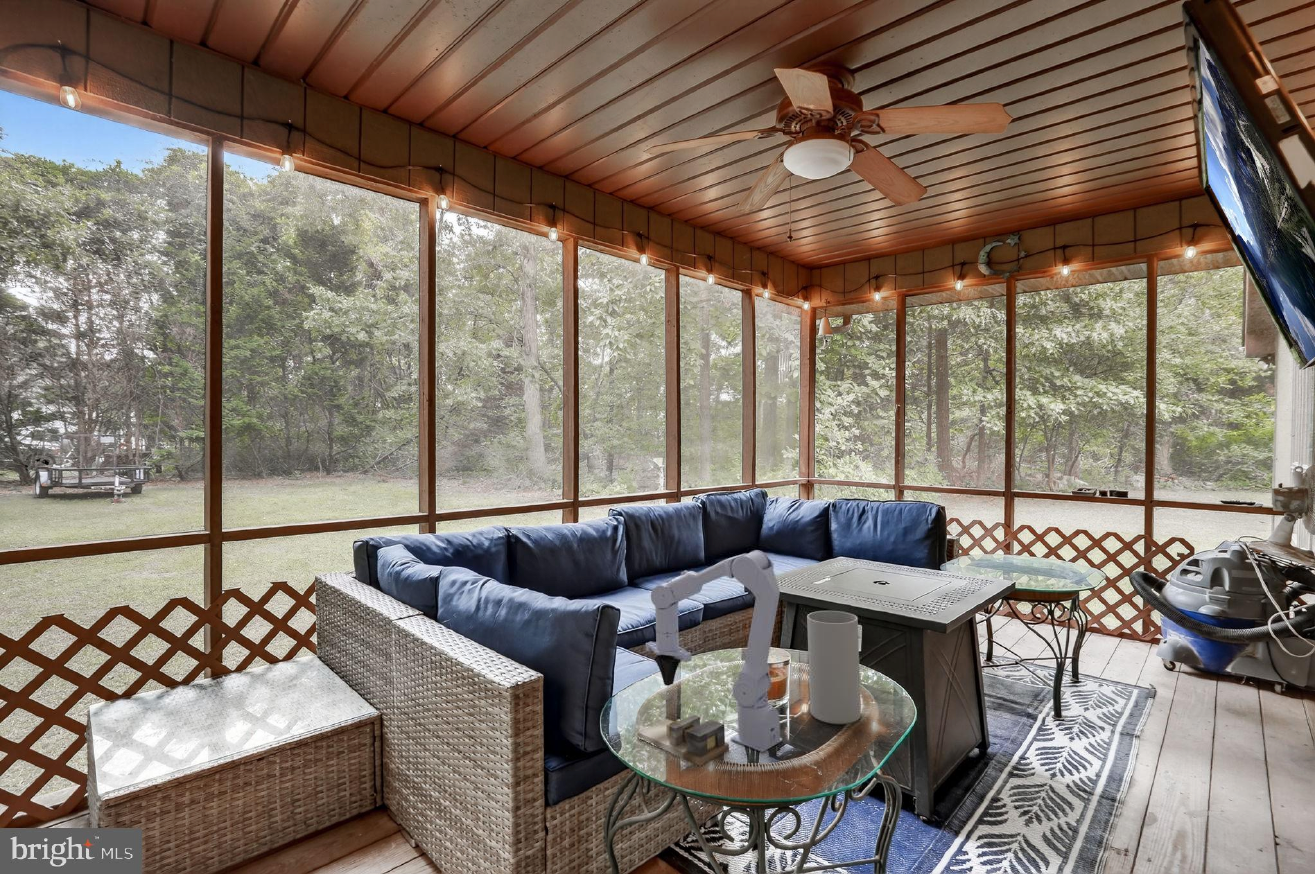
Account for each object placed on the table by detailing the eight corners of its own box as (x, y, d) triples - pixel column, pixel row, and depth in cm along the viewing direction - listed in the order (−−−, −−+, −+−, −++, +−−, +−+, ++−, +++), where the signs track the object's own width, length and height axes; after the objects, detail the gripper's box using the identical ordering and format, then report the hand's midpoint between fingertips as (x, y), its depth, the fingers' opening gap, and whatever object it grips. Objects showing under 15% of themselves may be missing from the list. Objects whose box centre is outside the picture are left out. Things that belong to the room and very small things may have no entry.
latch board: (729, 750, 147) (728, 723, 147) (699, 766, 140) (698, 738, 140) (667, 725, 161) (666, 700, 161) (637, 738, 154) (637, 713, 154)
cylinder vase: (830, 729, 156) (826, 626, 156) (800, 710, 168) (797, 614, 168) (871, 719, 161) (868, 619, 161) (839, 702, 172) (836, 608, 173)
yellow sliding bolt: (717, 745, 146) (717, 734, 146) (704, 752, 142) (704, 740, 143) (679, 729, 154) (679, 719, 154) (666, 735, 151) (666, 725, 151)
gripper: (636, 628, 166) (638, 681, 166) (676, 639, 156) (678, 696, 155) (656, 623, 171) (657, 674, 171) (696, 633, 161) (697, 687, 160)
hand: (668, 684), depth 163 cm, fingers closed
